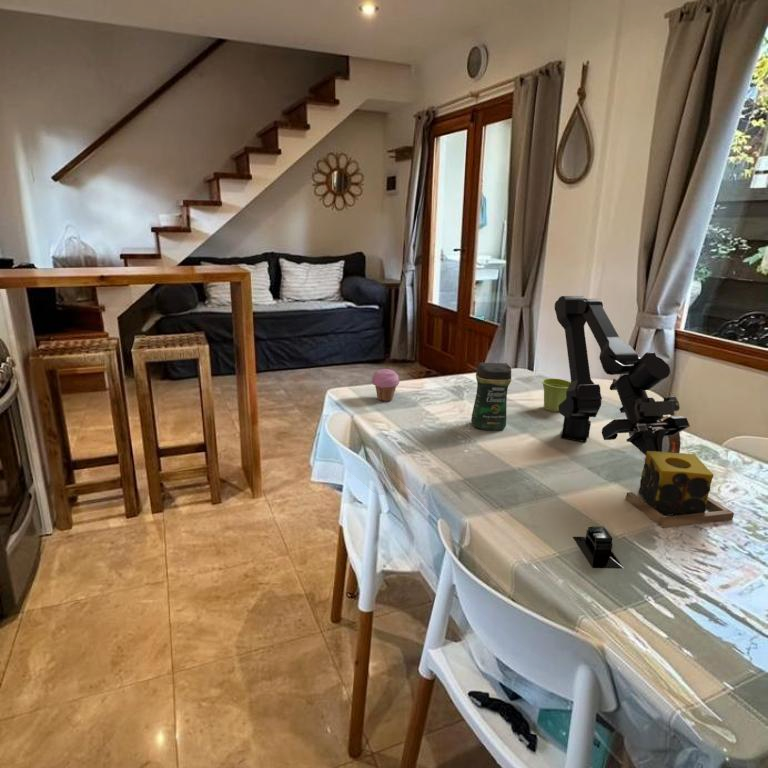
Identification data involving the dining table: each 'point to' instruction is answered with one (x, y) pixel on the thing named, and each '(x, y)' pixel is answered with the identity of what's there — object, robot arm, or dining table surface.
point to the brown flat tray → (717, 515)
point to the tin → (670, 441)
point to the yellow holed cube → (675, 483)
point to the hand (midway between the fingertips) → (658, 464)
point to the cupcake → (385, 383)
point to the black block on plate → (598, 548)
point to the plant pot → (554, 393)
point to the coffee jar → (491, 396)
